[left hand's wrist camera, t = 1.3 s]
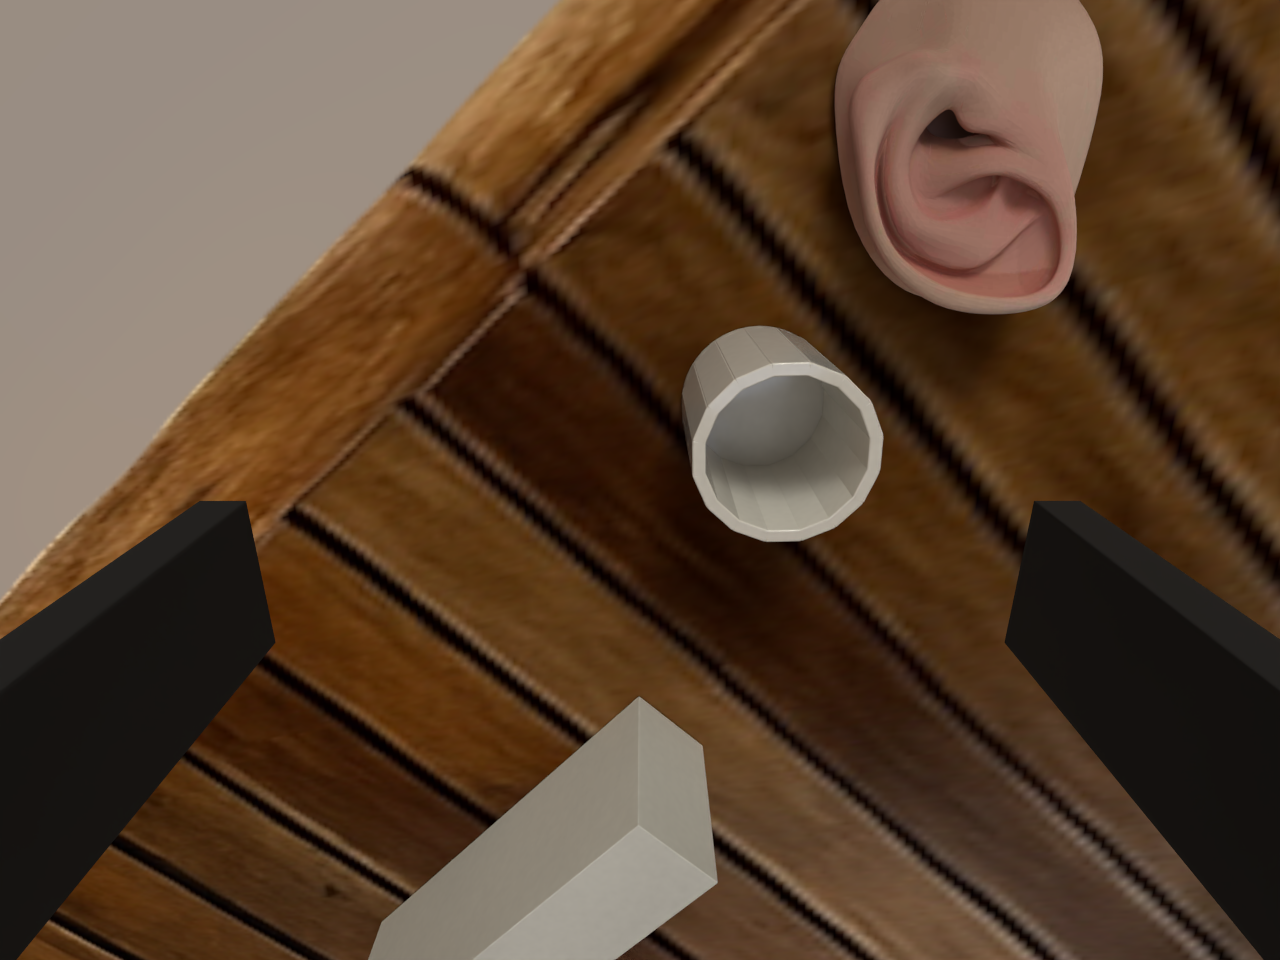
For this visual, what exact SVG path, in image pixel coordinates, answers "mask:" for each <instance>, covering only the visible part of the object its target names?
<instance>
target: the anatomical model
mask: <svg viewBox="0 0 1280 960" xmlns="http://www.w3.org/2000/svg"><path fill="white" fill-rule="evenodd" d="M1102 80H1103V57H1102V50H1101V45H1100V41H1099V37H1098V34H1097V31H1096V29H1095V26H1094V24H1093V23H1092V21H1091V19H1090V17H1089V15H1088V13H1087V11H1086V10H1085V9H1084V7H1083V6H1082V4H1081V3H1080V1H1079V0H879V2H878V3H877V4H876V5H875V7H874V8H873V10H872V11H871V13H870V14H869V16H868V17H867V18H866V20H865V21H864V23H863V24H862V26H861V27H860V29H859V30H858V32H857V33H856V35H855V36H854V38H853V39H852V41H851V43H850V44H849V46H848V47H847V49H846V51H845V53H844V55H843V58H842V60H841V62H840V65H839V68H838V72H837V77H836V83H835V123H836V136H837V145H838V154H839V163H840V169H841V176H842V182H843V187H844V191H845V195H846V200H847V204H848V208H849V211H850V214H851V217H852V220H853V223H854V226H855V229H856V231H857V233H858V235H859V237H860V239H861V241H862V243H863V245H864V247H865V249H866V250H867V252H868V254H869V255H870V257H871V258H872V260H873V261H874V262H875V264H876V265H877V266H878V268H879V269H880V270H881V271H882V272H883V273H884V274H885V275H886V276H887V277H888V278H889V279H890V280H891V281H893V282H894V283H895V284H896V285H898V286H899V287H901V288H902V289H904V290H906V291H908V292H910V293H912V294H915V295H918V296H921V297H923V298H924V299H926V300H928V301H930V302H932V303H934V304H937V305H939V306H942V307H945V308H947V309H952V310H956V311H961V312H967V313H975V314H1011V313H1019V312H1025V311H1029V310H1033V309H1036V308H1039V307H1042V306H1044V305H1046V304H1048V303H1049V302H1051V301H1052V300H1054V299H1055V298H1056V297H1057V296H1058V295H1059V294H1060V293H1061V292H1062V290H1063V289H1064V287H1065V286H1066V284H1067V282H1068V280H1069V278H1070V275H1071V272H1072V268H1073V265H1074V258H1075V252H1076V237H1077V224H1076V208H1075V198H1074V194H1075V192H1076V189H1077V186H1078V183H1079V179H1080V176H1081V173H1082V169H1083V166H1084V162H1085V159H1086V155H1087V152H1088V149H1089V145H1090V141H1091V137H1092V133H1093V129H1094V125H1095V121H1096V116H1097V111H1098V106H1099V101H1100V96H1101V88H1102Z"/></svg>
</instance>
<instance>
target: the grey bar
mask: <svg viewBox="0 0 1280 960" xmlns="http://www.w3.org/2000/svg"><path fill="white" fill-rule="evenodd" d="M717 882H718V881H717V872H716V863H715V854H714V845H713V836H712V827H711V818H710V809H709V800H708V791H707V782H706V773H705V764H704V754H703V746H702V745H701V744H700V743H698V742H697V741H696V740H694V739H693V738H692V737H691V736H689V735H688V734H687V733H685V732H684V731H683V730H682V729H680V728H679V727H678V726H677V725H675V724H674V723H673V722H671V721H670V720H669V719H668V718H666V717H665V716H664V715H662V714H661V713H660V712H659V711H657V710H656V709H655V708H653V707H652V706H651V705H650V704H648V703H647V702H646V701H645V700H643V699H642V698H641V697H638V698H636V699H635V700H634V701H633V702H632V703H631V704H630V705H628V706H627V707H626V708H625V709H624V710H623V711H622V712H620V713H619V714H618V715H617V716H616V717H615V718H614V719H612V720H611V721H610V722H609V723H608V724H607V725H606V726H605V727H603V728H602V729H601V730H600V731H599V732H598V733H597V734H595V735H594V736H593V737H592V738H591V739H590V740H589V741H587V742H586V743H585V744H584V745H583V746H582V747H581V748H579V749H578V750H577V751H576V752H575V753H574V754H573V755H571V756H570V757H569V758H568V759H567V760H566V761H565V762H563V763H562V764H561V765H560V766H559V767H558V768H557V769H556V770H554V771H553V772H552V773H551V774H550V775H549V776H548V777H546V778H545V779H544V780H543V781H542V782H541V783H540V784H538V785H537V786H536V787H535V788H534V789H533V790H532V791H530V792H529V793H528V794H527V795H526V796H525V797H524V798H522V799H521V800H520V801H519V802H518V803H517V804H516V805H514V806H513V807H512V808H511V809H510V810H509V811H508V812H507V813H505V814H504V815H503V816H502V817H501V818H500V819H499V820H497V821H496V822H495V823H494V824H493V825H492V826H491V827H489V828H488V829H487V830H486V831H485V832H484V833H483V834H481V835H480V836H479V837H478V838H477V839H476V840H475V841H473V842H472V843H471V844H470V845H469V846H468V847H467V848H466V849H464V850H463V851H462V852H461V853H460V854H459V855H458V856H456V857H455V858H454V859H453V860H452V861H451V862H450V863H448V864H447V865H446V866H445V867H444V868H443V869H442V870H440V871H439V872H438V873H437V874H436V875H435V876H434V877H432V878H431V879H430V880H429V881H428V882H427V883H426V884H424V885H423V886H422V887H421V888H420V889H419V890H418V891H417V892H415V893H414V894H413V895H412V896H411V897H410V898H409V899H407V900H406V901H405V902H404V903H403V904H402V905H401V906H399V907H398V908H397V909H396V910H395V911H394V912H393V913H391V914H390V915H389V916H388V917H387V918H386V919H385V920H383V921H382V923H381V926H380V928H379V931H378V934H377V937H376V940H375V942H374V945H373V948H372V951H371V953H370V956H369V959H368V960H615V959H617V958H618V957H619V956H621V955H622V954H623V953H625V952H626V951H627V950H629V949H630V948H631V947H633V946H634V945H635V944H637V943H638V942H639V941H641V940H642V939H643V938H645V937H646V936H647V935H649V934H650V933H651V932H653V931H654V930H655V929H657V928H658V927H659V926H661V925H662V924H663V923H665V922H666V921H667V920H669V919H670V918H671V917H673V916H674V915H675V914H677V913H678V912H679V911H681V910H682V909H683V908H685V907H686V906H687V905H689V904H690V903H691V902H693V901H694V900H695V899H697V898H698V897H699V896H701V895H702V894H703V893H705V892H706V891H707V890H709V889H710V888H711V887H713V886H714V885H715V884H717Z"/></svg>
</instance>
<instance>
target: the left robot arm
mask: <svg viewBox="0 0 1280 960" xmlns="http://www.w3.org/2000/svg"><path fill="white" fill-rule="evenodd" d="M274 643H275V638H274V634H273V629H272V624H271V619H270V614H269V610H268V605H267V600H266V595H265V591H264V586H263V581H262V576H261V571H260V567H259V562H258V557H257V552H256V547H255V543H254V538H253V533H252V528H251V524H250V519H249V514H248V509H247V504H246V501H199V502H198V503H196V504H195V505H193V506H192V507H191V508H189V509H188V510H186V511H185V512H183V513H182V514H180V515H179V516H178V517H176V518H175V519H173V520H172V521H170V522H169V523H167V524H166V525H165V526H163V527H162V528H160V529H159V530H157V531H156V532H155V533H153V534H152V535H150V536H149V537H147V538H146V539H144V540H143V541H142V542H140V543H139V544H137V545H136V546H134V547H133V548H131V549H130V550H129V551H127V552H126V553H124V554H123V555H121V556H120V557H118V558H117V559H116V560H114V561H113V562H111V563H110V564H108V565H107V566H105V567H104V568H103V569H101V570H100V571H98V572H97V573H95V574H94V575H92V576H91V577H90V578H88V579H87V580H85V581H84V582H82V583H81V584H79V585H78V586H77V587H75V588H74V589H72V590H71V591H69V592H68V593H66V594H65V595H64V596H62V597H61V598H59V599H58V600H56V601H55V602H54V603H52V604H51V605H49V606H48V607H46V608H45V609H43V610H42V611H41V612H39V613H38V614H36V615H35V616H33V617H32V618H30V619H29V620H28V621H26V622H25V623H23V624H22V625H20V626H19V627H17V628H16V629H15V630H13V631H12V632H10V633H9V634H7V635H6V636H4V637H3V638H2V639H0V960H16V959H17V958H18V957H19V956H20V954H21V953H22V952H23V951H24V950H25V948H26V947H27V946H28V945H29V943H30V942H31V941H32V940H33V939H34V937H35V936H36V935H37V934H38V932H39V931H40V930H41V929H42V928H43V926H44V925H45V924H46V923H47V921H48V920H49V919H50V918H51V916H52V915H53V914H54V913H55V912H56V910H57V909H58V908H59V907H60V905H61V904H62V903H63V902H64V901H65V899H66V898H67V897H68V896H69V894H70V893H71V892H72V891H73V890H74V888H75V887H76V886H77V885H78V883H79V882H80V881H81V880H82V879H83V877H84V876H85V875H86V874H87V872H88V871H89V870H90V869H91V868H92V866H93V865H94V864H95V863H96V861H97V860H98V859H99V858H100V857H101V855H102V854H103V853H104V852H105V850H106V849H107V848H108V847H109V845H110V844H111V843H112V842H113V841H114V839H115V838H116V837H117V836H118V834H119V833H120V832H121V831H122V830H123V828H124V827H125V826H126V825H127V823H128V822H129V821H130V820H131V819H132V817H133V816H134V815H135V814H136V812H137V811H138V810H139V809H140V808H141V806H142V805H143V804H144V803H145V801H146V800H147V799H148V798H149V797H150V795H151V794H152V793H153V792H154V790H155V789H156V788H157V787H158V786H159V784H160V783H161V782H162V781H163V779H164V778H165V777H166V776H167V774H168V773H169V772H170V771H171V770H172V768H173V767H174V766H175V765H176V763H177V762H178V761H179V760H180V759H181V757H182V756H183V755H184V754H185V752H186V751H187V750H188V749H189V748H190V746H191V745H192V744H193V743H194V741H195V740H196V739H197V738H198V737H199V735H200V734H201V733H202V732H203V730H204V729H205V728H206V727H207V726H208V724H209V723H210V722H211V721H212V719H213V718H214V717H215V716H216V715H217V713H218V712H219V711H220V710H221V708H222V707H223V706H224V705H225V703H226V702H227V701H228V700H229V699H230V697H231V696H232V695H233V694H234V692H235V691H236V690H237V689H238V688H239V686H240V685H241V684H242V683H243V681H244V680H245V679H246V678H247V677H248V675H249V674H250V673H251V672H252V670H253V669H254V668H255V667H256V666H257V664H258V663H259V662H260V661H261V659H262V658H263V657H264V656H265V655H266V653H267V652H268V651H269V650H270V648H271V647H272V646H273V645H274ZM1005 643H1006V645H1007V646H1008V647H1009V648H1010V650H1011V651H1012V652H1013V653H1014V655H1015V656H1016V657H1017V658H1018V659H1019V661H1020V662H1021V663H1022V664H1023V666H1024V667H1025V668H1026V669H1027V670H1028V672H1029V673H1030V674H1031V675H1032V677H1033V678H1034V679H1035V680H1036V681H1037V683H1038V684H1039V685H1040V686H1041V688H1042V689H1043V690H1044V691H1045V692H1046V694H1047V695H1048V696H1049V697H1050V699H1051V700H1052V701H1053V702H1054V703H1055V705H1056V706H1057V707H1058V708H1059V710H1060V711H1061V712H1062V713H1063V715H1064V716H1065V717H1066V718H1067V719H1068V721H1069V722H1070V723H1071V724H1072V726H1073V727H1074V728H1075V729H1076V730H1077V732H1078V733H1079V734H1080V735H1081V737H1082V738H1083V739H1084V740H1085V741H1086V743H1087V744H1088V745H1089V746H1090V748H1091V749H1092V750H1093V751H1094V752H1095V754H1096V755H1097V756H1098V757H1099V759H1100V760H1101V761H1102V762H1103V763H1104V765H1105V766H1106V767H1107V768H1108V770H1109V771H1110V772H1111V773H1112V774H1113V776H1114V777H1115V778H1116V779H1117V781H1118V782H1119V783H1120V784H1121V786H1122V787H1123V788H1124V789H1125V790H1126V792H1127V793H1128V794H1129V795H1130V797H1131V798H1132V799H1133V800H1134V801H1135V803H1136V804H1137V805H1138V806H1139V808H1140V809H1141V810H1142V811H1143V812H1144V814H1145V815H1146V816H1147V817H1148V819H1149V820H1150V821H1151V822H1152V823H1153V825H1154V826H1155V827H1156V828H1157V830H1158V831H1159V832H1160V833H1161V834H1162V836H1163V837H1164V838H1165V839H1166V841H1167V842H1168V843H1169V844H1170V845H1171V847H1172V848H1173V849H1174V850H1175V852H1176V853H1177V854H1178V855H1179V857H1180V858H1181V859H1182V860H1183V861H1184V863H1185V864H1186V865H1187V866H1188V868H1189V869H1190V870H1191V871H1192V872H1193V874H1194V875H1195V876H1196V877H1197V879H1198V880H1199V881H1200V882H1201V883H1202V885H1203V886H1204V887H1205V888H1206V890H1207V891H1208V892H1209V893H1210V894H1211V896H1212V897H1213V898H1214V899H1215V901H1216V902H1217V903H1218V904H1219V905H1220V907H1221V908H1222V909H1223V910H1224V912H1225V913H1226V914H1227V915H1228V916H1229V918H1230V919H1231V920H1232V921H1233V923H1234V924H1235V925H1236V926H1237V928H1238V929H1239V930H1240V931H1241V932H1242V934H1243V935H1244V936H1245V937H1246V939H1247V940H1248V941H1249V942H1250V943H1251V945H1252V946H1253V947H1254V948H1255V950H1256V951H1257V952H1258V953H1259V954H1260V956H1261V957H1262V958H1263V959H1264V960H1280V639H1278V638H1277V637H1276V636H1274V635H1273V634H1271V633H1270V632H1268V631H1267V630H1265V629H1264V628H1263V627H1261V626H1260V625H1258V624H1257V623H1255V622H1254V621H1252V620H1251V619H1250V618H1248V617H1247V616H1245V615H1244V614H1242V613H1241V612H1239V611H1238V610H1237V609H1235V608H1234V607H1232V606H1231V605H1229V604H1228V603H1226V602H1225V601H1224V600H1222V599H1221V598H1219V597H1218V596H1216V595H1215V594H1214V593H1212V592H1211V591H1209V590H1208V589H1206V588H1205V587H1203V586H1202V585H1201V584H1199V583H1198V582H1196V581H1195V580H1193V579H1192V578H1190V577H1189V576H1188V575H1186V574H1185V573H1183V572H1182V571H1180V570H1179V569H1177V568H1176V567H1175V566H1173V565H1172V564H1170V563H1169V562H1167V561H1166V560H1164V559H1163V558H1162V557H1160V556H1159V555H1157V554H1156V553H1154V552H1153V551H1151V550H1150V549H1149V548H1147V547H1146V546H1144V545H1143V544H1141V543H1140V542H1138V541H1137V540H1136V539H1134V538H1133V537H1131V536H1130V535H1128V534H1127V533H1125V532H1124V531H1123V530H1121V529H1120V528H1118V527H1117V526H1115V525H1114V524H1113V523H1111V522H1110V521H1108V520H1107V519H1105V518H1104V517H1102V516H1101V515H1100V514H1098V513H1097V512H1095V511H1094V510H1092V509H1091V508H1089V507H1088V506H1087V505H1085V504H1084V503H1082V502H1081V501H1034V504H1033V509H1032V514H1031V519H1030V524H1029V528H1028V533H1027V538H1026V543H1025V547H1024V552H1023V557H1022V562H1021V567H1020V571H1019V576H1018V581H1017V586H1016V591H1015V595H1014V600H1013V605H1012V610H1011V614H1010V619H1009V624H1008V629H1007V634H1006V638H1005Z"/></svg>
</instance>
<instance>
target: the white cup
mask: <svg viewBox="0 0 1280 960" xmlns="http://www.w3.org/2000/svg"><path fill="white" fill-rule="evenodd" d="M682 420H683V426H684V431H685V437H686V442H687V448H688V453H689V459H690V465H691V470H692V475H693V479H694V481H695V483H696V485H697V488H698V490H699V492H700V494H701V496H702V499H703V501H704V503H705V505H706V507H707V508H708V509H709V510H710V511H711V512H712V513H713V514H714V515H716V516H717V517H718V518H719V519H720V520H721V521H722V522H723V523H724V524H726V525H727V526H728V527H729V528H730V529H732V530H733V531H736V532H738V533H741V534H744V535H747V536H750V537H753V538H755V539H758V540H761V541H766V542H782V541H801V540H805V539H808V538H810V537H813V536H815V535H818V534H821V533H823V532H826V531H828V530H831V529H833V528H835V527H837V526H838V525H839V524H840V523H841V522H842V521H844V520H845V519H846V518H847V517H848V516H849V515H850V514H852V513H853V512H854V511H855V510H856V509H857V508H858V507H860V506H861V505H862V503H863V502H864V501H865V499H866V497H867V495H868V493H869V491H870V489H871V488H872V486H873V484H874V482H875V480H876V478H877V476H878V474H879V471H880V467H881V457H882V446H883V433H882V430H881V427H880V424H879V421H878V418H877V415H876V412H875V410H874V407H873V404H872V402H871V400H870V399H869V398H868V397H867V396H866V395H865V394H864V393H863V392H862V391H861V390H860V389H859V388H858V387H857V386H856V385H855V384H854V383H853V382H852V381H851V380H850V379H849V378H848V377H847V376H846V375H845V374H844V373H843V372H841V371H840V370H839V369H838V368H837V367H836V366H835V365H833V364H832V363H831V362H830V361H829V360H828V359H827V358H825V357H824V356H823V355H822V354H821V353H820V352H819V351H817V350H816V349H815V348H814V347H813V346H812V345H811V344H809V343H808V342H807V341H806V340H805V339H803V338H801V337H798V336H797V335H795V334H793V333H791V332H789V331H786V330H783V329H780V328H775V327H770V326H752V327H745V328H741V329H737V330H734V331H732V332H729V333H727V334H725V335H723V336H721V337H719V338H718V339H716V340H715V341H714V342H712V343H711V344H710V345H709V346H707V347H706V348H705V349H704V350H703V351H702V352H701V354H700V355H699V356H698V357H697V358H696V360H695V361H694V363H693V364H692V366H691V368H690V370H689V372H688V374H687V377H686V380H685V383H684V387H683V392H682Z"/></svg>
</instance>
